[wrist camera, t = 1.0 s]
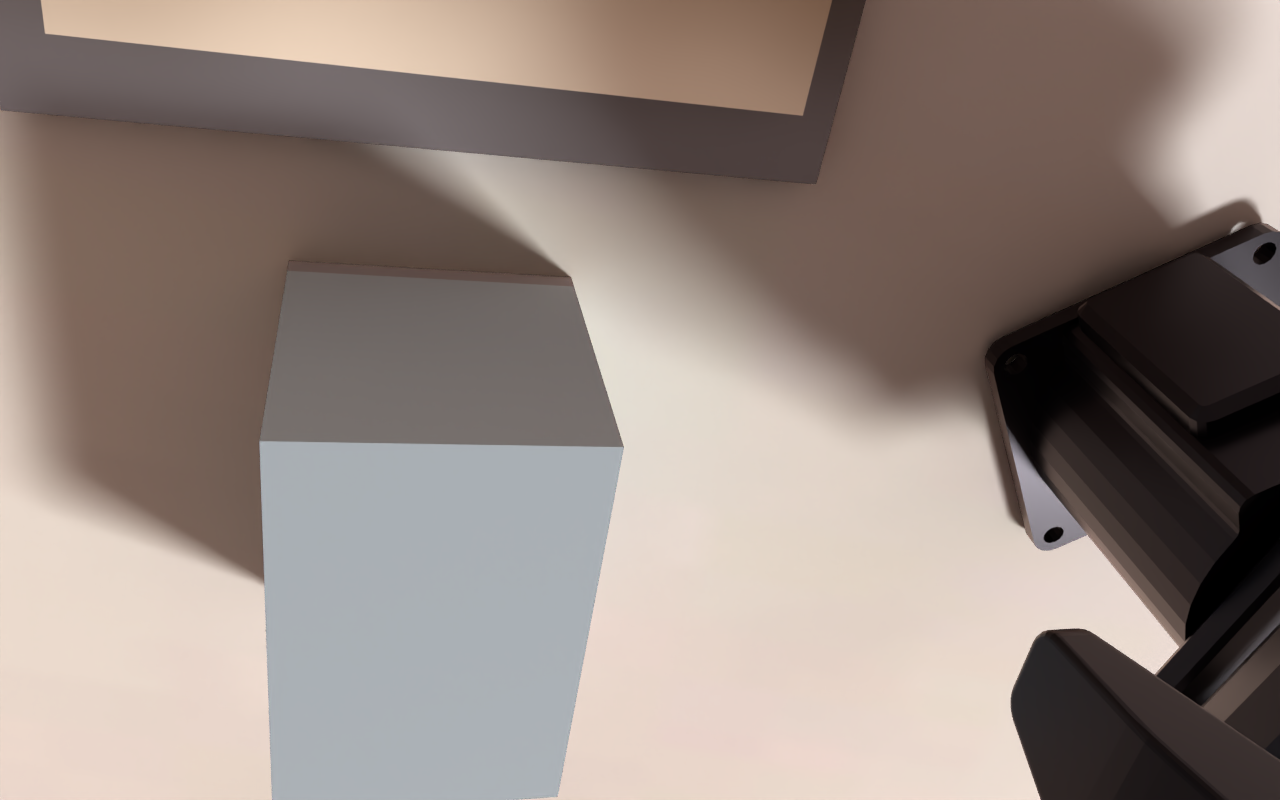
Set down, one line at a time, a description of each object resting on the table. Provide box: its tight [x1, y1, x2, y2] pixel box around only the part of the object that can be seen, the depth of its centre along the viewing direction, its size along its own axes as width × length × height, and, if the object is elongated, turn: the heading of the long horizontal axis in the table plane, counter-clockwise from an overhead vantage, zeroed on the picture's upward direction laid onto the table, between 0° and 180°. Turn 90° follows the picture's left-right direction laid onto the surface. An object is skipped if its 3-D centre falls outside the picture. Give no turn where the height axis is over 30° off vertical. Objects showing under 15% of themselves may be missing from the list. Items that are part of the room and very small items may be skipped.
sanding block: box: [259, 261, 624, 800], centre depth 19 cm, size 8×5×6 cm, turn 170°
